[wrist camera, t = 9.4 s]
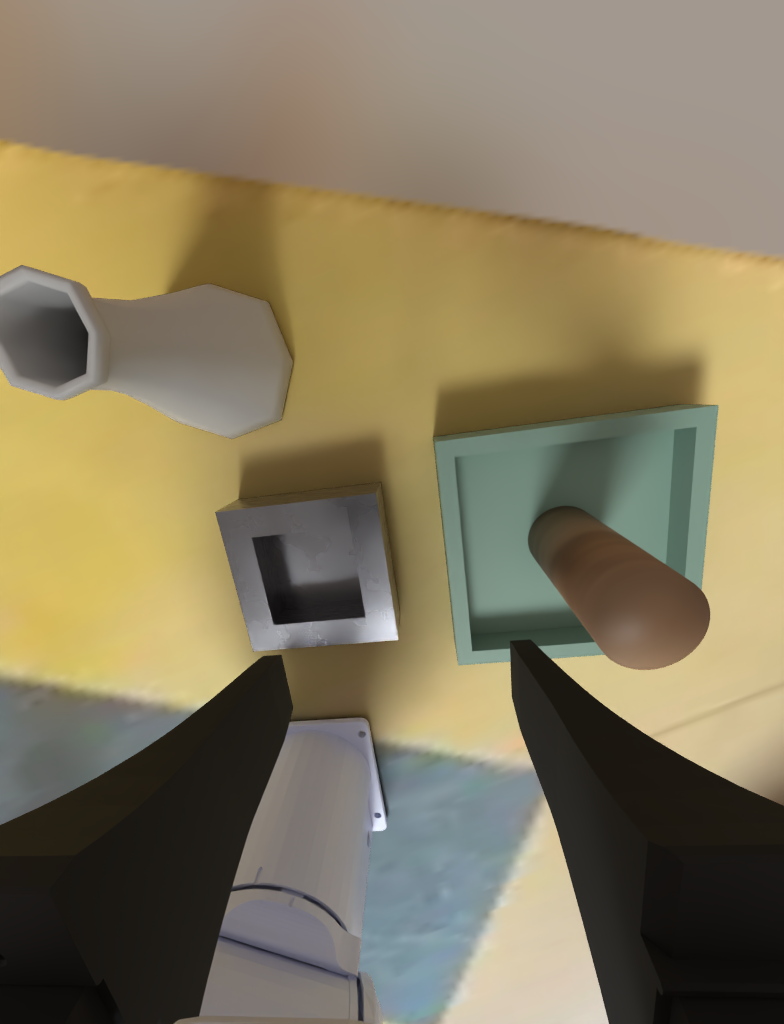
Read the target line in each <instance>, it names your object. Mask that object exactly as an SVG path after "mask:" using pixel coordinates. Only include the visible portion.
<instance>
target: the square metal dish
mask: <svg viewBox="0 0 784 1024" xmlns="http://www.w3.org/2000/svg"><path fill="white" fill-rule="evenodd" d="M215 513H216V516H217V520H218V524H219V527H220V531H221V535H222V538H223V542H224V546H225V549H226V553H227V557H228V561H229V564H230V568H231V572H232V575H233V579H234V583H235V586H236V590H237V594H238V597H239V601H240V605H241V608H242V612H243V616H244V619H245V623H246V627H247V630H248V634H249V638H250V641H251V645H252V649H253V652H254V651H266V650H278V649H291V648H303V647H316V646H328V645H341V644H353V643H366V642H378V641H391V640H398V635H399V623H400V610H399V603H398V596H397V590H396V583H395V576H394V569H393V562H392V556H391V549H390V542H389V535H388V528H387V521H386V515H385V508H384V501H383V494H382V487H381V482H378V483H369V484H361V485H353V486H345V487H336V488H328V489H320V490H312V491H303V492H295V493H287V494H278V495H270V496H262V497H254V498H245V499H238V500H236V501H234V502H233V503H231V504H229V505H227V506H225V507H224V508H222V509H220V510H218V511H217V512H215Z"/></svg>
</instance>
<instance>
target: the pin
mask: <svg viewBox="0 0 784 1024" xmlns="http://www.w3.org/2000/svg"><path fill="white" fill-rule="evenodd" d="M528 546H529V550H530V552H531V554H532V556H533V557H534V559H535V560H536V562H537V563H538V564H539V566H540V567H541V568H542V570H543V571H544V573H545V574H546V575H547V577H548V578H549V579H550V581H551V582H552V583H553V585H554V586H555V588H556V589H557V590H558V592H559V593H560V594H561V596H562V597H563V599H564V600H565V601H566V603H567V604H568V605H569V607H570V608H571V610H572V611H573V612H574V614H575V615H576V616H577V618H578V619H579V620H580V622H581V623H582V625H583V626H584V627H585V629H586V630H587V631H588V633H589V634H590V636H591V637H592V638H593V640H594V641H595V642H596V644H597V645H598V646H599V648H600V649H601V651H602V652H603V653H604V654H605V655H606V656H607V657H608V658H609V659H611V660H612V661H614V662H615V663H617V664H619V665H621V666H624V667H627V668H632V669H638V670H651V669H658V668H662V667H666V666H669V665H672V664H674V663H676V662H678V661H680V660H681V659H683V658H685V657H686V656H687V655H689V654H690V653H691V652H692V651H693V650H694V649H695V648H696V647H697V646H698V645H699V644H700V642H701V641H702V639H703V638H704V636H705V634H706V632H707V629H708V626H709V621H710V608H709V604H708V601H707V599H706V597H705V595H704V593H703V592H702V591H701V589H700V588H699V587H698V586H697V585H696V584H694V583H693V582H691V581H690V580H688V579H687V578H685V577H684V576H682V575H681V574H679V573H678V572H676V571H675V570H673V569H672V568H670V567H669V566H667V565H666V564H664V563H663V562H661V561H660V560H658V559H657V558H655V557H654V556H652V555H651V554H649V553H648V552H646V551H645V550H643V549H642V548H640V547H639V546H637V545H635V544H634V543H632V542H631V541H629V540H628V539H626V538H625V537H623V536H622V535H620V534H619V533H617V532H616V531H614V530H613V529H611V528H610V527H608V526H607V525H605V524H604V523H602V522H601V521H599V520H598V519H596V518H595V517H593V516H592V515H590V514H589V513H587V512H586V511H584V510H582V509H580V508H577V507H573V506H559V507H555V508H552V509H549V510H547V511H546V512H544V513H543V514H541V515H540V516H539V517H538V518H537V519H536V520H535V521H534V523H533V525H532V526H531V528H530V531H529V535H528Z"/></svg>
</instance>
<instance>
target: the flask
mask: <svg viewBox="0 0 784 1024" xmlns="http://www.w3.org/2000/svg"><path fill="white" fill-rule="evenodd" d="M292 365H293V361H292V359H291V356H290V354H289V351H288V349H287V346H286V344H285V342H284V339H283V337H282V334H281V332H280V329H279V327H278V324H277V322H276V319H275V317H274V314H273V312H272V310H271V307H270V305H269V302H267V301H264V300H261V299H257V298H254V297H251V296H248V295H245V294H242V293H238V292H235V291H232V290H229V289H226V288H223V287H219V286H216V285H213V284H204V285H199V286H196V287H192V288H188V289H185V290H181V291H177V292H174V293H169V294H164V295H158V296H153V297H147V298H142V299H137V300H117V299H103V298H92V297H91V295H90V293H89V292H88V290H87V288H86V287H85V286H83V285H82V284H81V283H79V282H76V281H72V280H69V279H66V278H63V277H60V276H56V275H53V274H50V273H47V272H44V271H40V270H37V269H34V268H31V267H27V266H24V265H21V266H19V267H17V268H15V269H13V270H11V271H9V272H7V273H5V274H3V275H1V276H0V368H1V369H2V371H3V373H4V375H5V376H6V378H7V380H8V381H9V383H10V385H11V386H14V387H17V388H20V389H23V390H27V391H30V392H33V393H37V394H40V395H43V396H46V397H50V398H53V399H56V400H67V399H70V398H73V397H75V396H77V395H79V394H82V393H84V392H86V391H88V390H110V391H115V392H119V393H123V394H126V395H128V396H130V397H132V398H134V399H136V400H138V401H140V402H142V403H144V404H146V405H148V406H150V407H152V408H154V409H155V410H157V411H159V412H161V413H162V414H164V415H166V416H167V417H169V418H171V419H173V420H175V421H177V422H179V423H181V424H185V425H188V426H191V427H194V428H198V429H201V430H204V431H207V432H211V433H214V434H217V435H220V436H224V437H227V438H230V439H234V438H237V437H239V436H242V435H244V434H247V433H249V432H252V431H254V430H257V429H259V428H262V427H264V426H267V425H270V424H272V423H275V422H277V421H280V420H281V418H282V413H283V409H284V404H285V399H286V394H287V389H288V385H289V380H290V375H291V370H292Z"/></svg>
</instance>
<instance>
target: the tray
mask: <svg viewBox="0 0 784 1024" xmlns="http://www.w3.org/2000/svg"><path fill="white" fill-rule="evenodd" d="M717 415H718V405H694V404H681V405H673V406H665V407H658V408H650V409H643V410H635V411H627V412H620V413H612V414H604V415H597V416H589V417H581V418H574V419H566V420H559V421H551V422H543V423H536V424H528V425H520V426H513V427H505V428H498V429H490V430H482V431H475V432H467V433H459V434H452V435H444V436H436V437H433V441H434V450H435V460H436V469H437V479H438V488H439V498H440V507H441V517H442V526H443V536H444V545H445V555H446V564H447V574H448V583H449V593H450V602H451V612H452V621H453V631H454V640H455V647H456V653H457V660H458V665H470V664H483V663H497V662H511V659H510V641H513V640H528V639H530V640H532V641H533V642H534V643H535V644H536V645H537V646H538V647H539V648H540V649H541V650H542V651H543V652H544V653H545V654H546V655H547V656H548V657H549V658H550V659H552V658H566V657H580V656H594V655H605V654H604V653H603V652H602V651H601V649H600V648H599V646H598V645H597V644H596V642H595V641H594V640H593V638H592V637H591V636H590V634H589V633H588V631H587V630H586V629H585V627H584V626H583V625H582V623H581V622H580V620H579V619H578V618H577V616H576V615H575V614H574V612H573V611H572V610H571V608H570V607H569V605H568V604H567V603H566V601H565V600H564V599H563V597H562V596H561V594H560V593H559V592H558V590H557V589H556V588H555V586H554V585H553V583H552V582H551V581H550V579H549V578H548V577H547V575H546V574H545V573H544V571H543V570H542V568H541V567H540V566H539V564H538V563H537V562H536V560H535V559H534V557H533V556H532V554H531V552H530V550H529V546H528V535H529V531H530V528H531V526H532V525H533V523H534V521H535V520H536V519H537V518H538V517H539V516H540V515H541V514H543V513H544V512H546V511H547V510H549V509H552V508H555V507H559V506H573V507H577V508H580V509H582V510H584V511H586V512H587V513H589V514H590V515H592V516H593V517H595V518H596V519H598V520H599V521H601V522H602V523H604V524H605V525H607V526H608V527H610V528H611V529H613V530H614V531H616V532H617V533H619V534H620V535H622V536H623V537H625V538H626V539H628V540H629V541H631V542H632V543H634V544H635V545H637V546H639V547H640V548H642V549H643V550H645V551H646V552H648V553H649V554H651V555H652V556H654V557H655V558H657V559H658V560H660V561H661V562H663V563H664V564H666V565H667V566H669V567H670V568H672V569H673V570H675V571H676V572H678V573H679V574H681V575H682V576H684V577H685V578H687V579H688V580H690V581H691V582H693V583H694V584H696V585H697V586H698V587H699V588H700V589H702V578H703V567H704V557H705V546H706V535H707V524H708V513H709V502H710V491H711V481H712V470H713V459H714V448H715V437H716V426H717Z"/></svg>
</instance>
